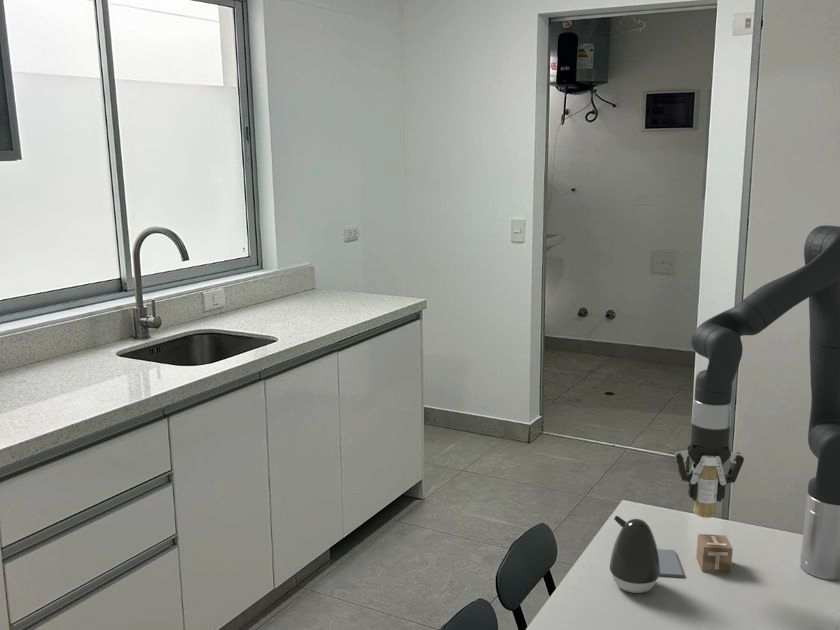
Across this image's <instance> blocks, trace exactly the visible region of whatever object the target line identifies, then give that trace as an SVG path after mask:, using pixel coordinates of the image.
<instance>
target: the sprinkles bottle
mask: <svg viewBox="0 0 840 630" xmlns="http://www.w3.org/2000/svg"><path fill="white" fill-rule="evenodd" d="M702 465H704V467H703V470H702V472H701V474H700V475H699V477H698V479H697V482H696V483H697V496H696V501H694V507H693V513H694V514H695V515H696V516H698V517H700V518H705V519H711V518H714V517H715V516H717V492H718V473H717V465H718V464H717V459H716V458H715V457H714V456H707V458H705V462H704V463H703V464H702Z"/></svg>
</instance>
